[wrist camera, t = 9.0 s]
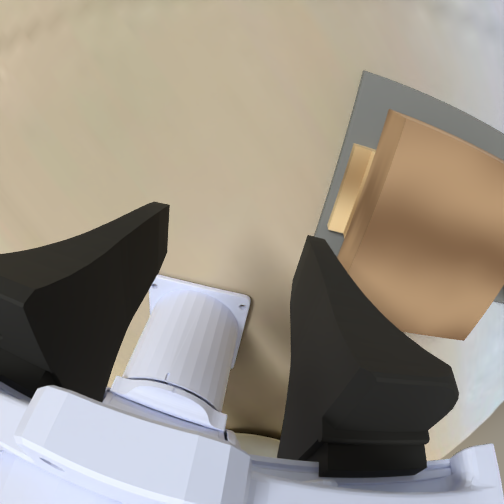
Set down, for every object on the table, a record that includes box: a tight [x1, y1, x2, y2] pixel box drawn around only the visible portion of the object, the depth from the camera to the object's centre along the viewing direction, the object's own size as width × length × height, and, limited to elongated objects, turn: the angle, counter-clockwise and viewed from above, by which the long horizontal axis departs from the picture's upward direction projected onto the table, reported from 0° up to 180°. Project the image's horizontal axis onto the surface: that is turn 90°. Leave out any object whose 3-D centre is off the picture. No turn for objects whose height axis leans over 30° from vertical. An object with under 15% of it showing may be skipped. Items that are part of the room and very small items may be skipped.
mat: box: [314, 71, 504, 303], centre depth 18 cm, size 12×26×1 cm, turn 79°
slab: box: [337, 109, 504, 340], centre depth 15 cm, size 11×10×3 cm
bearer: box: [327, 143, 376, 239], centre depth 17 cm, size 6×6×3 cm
